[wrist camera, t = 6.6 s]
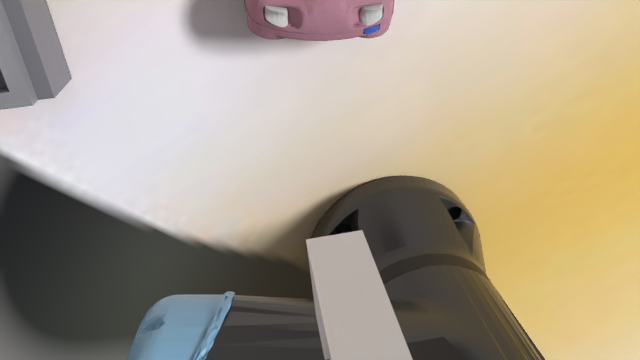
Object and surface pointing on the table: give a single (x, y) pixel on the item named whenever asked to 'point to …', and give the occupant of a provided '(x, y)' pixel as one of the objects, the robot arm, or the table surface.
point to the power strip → (29, 54)
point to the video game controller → (319, 18)
